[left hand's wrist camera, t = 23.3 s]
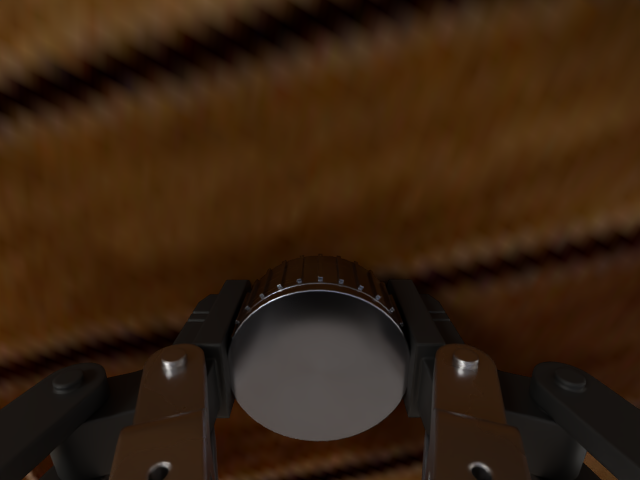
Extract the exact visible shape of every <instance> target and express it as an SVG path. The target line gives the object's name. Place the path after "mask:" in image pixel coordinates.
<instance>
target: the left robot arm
mask: <svg viewBox="0 0 640 480" xmlns="http://www.w3.org/2000/svg"><path fill="white" fill-rule="evenodd" d="M387 291H388V294H389V295H391V294H392V296H393V298H394V300H395V303H396V305H397V308H398V310H399V313H400V316H401V318H402V321H403V323H404V326H403V327H402V329H403V331H404V334H405V337H406V339H407V342H408V345H409V349H410V365H409V375H408V384H407V390H406V392H405V394H404V396H403V400H404V404H405V407H406V411H407V414H408V417H421V419H422V422H423V425H424V428H425V438H424V452H423V467H422V480H601V479H600V478H599V477H598V476H597V475H596V474H595V473H594V472H593V471H592V470H591V469H590V468H589V467H587V466H586V465H585V464H584V463H583V461H584V458H585V455H586V452H587V451H588V452H589V453H590V454H591V455H592V456H593V457H594V458H595V459H596V460H598V461H599V462H600V463H601V464H602V465H603V466H604V467H605V468H606V469H607V470H608V471H610V472H611V473H612V474H613V475H614V476H615V477H616V478H617V479H618V480H640V410H639V409H638V408H636V407H635V406H634V405H632V404H631V403H629V402H628V401H627V400H625V399H624V398H622V397H621V396H619V395H618V394H617V393H615V392H614V391H612V390H611V389H610V388H608V387H607V386H605V385H604V384H602V383H601V382H600V381H598V380H597V379H595V378H594V377H593V376H591V375H589V374H588V373H586V372H584V371H583V370H581V369H578V368H576V367H573V366H571V365H567V364H564V363H559V362H543V363H539V364H538V365H536V366H535V367H534V370H533V374H532V378H530V377H526V376H521V375H516V374H512V373H507V372H503V371H499V370H497V368H496V365H495V363H494V361H493V360H492V359H491V357H490V356H488V355H487V354H486V353H484V352H483V351H481V350H479V349H477V348H475V347H472V346H469V345H465V343H464V342H463V340H462V338H461V337H460V335H459V334H458V332H457V330H456V329H455V327H454V325H453V324H452V322H451V321H450V319H449V317H448V316H447V314H446V313H445V311H444V309H443V308H442V306H441V304H440V303H439V302H438V301H437V300H435V299H434V298H433V297H431V296H430V295H428V294H419V293H418V291H417V289H416V287H415V285H414V283H413V281H412V280H389V281H388V284H387ZM247 292H248V293H250V292H251V284H250V281H249V280H226V282H225V284H224V285H223V287H222V289H221V291H220V293H219V294H210V295H209V296H207V297H206V298H204V299H203V300H202V301H200V302H199V303H198V305H197V306H196V308H195V309H194V311H193V314H191V316H190V317H189V319H188V322H186V324H185V325H184V327H183V329H182V330H181V332H180V333H179V335H178V337H177V338H176V340H175V341H174V343H173V345H171V346H168V347H165V348H163V349H161V350H159V351H157V352H156V353H154V354H153V355H152V356H150V357H149V359H148V360H147V361H146V363H145V365H144V368H143V369H142V370H140V371H136V372H133V373H128V374H123V375H119V376H114V377H109V378H107V376H106V372H105V369H104V368H103V367H102V366H101V365H99V364H96V363H80V364H75V365H71V366H68V367H65V368H63V369H60V370H58V371H56V372H54V373H52V374H51V375H49V376H48V377H46V378H45V379H43V380H42V381H40V382H39V383H38V384H36V385H35V386H33V387H32V388H30V389H29V390H28V391H26V392H25V393H23V394H22V395H21V396H19V397H18V398H16V399H15V400H13V401H12V402H11V403H9V404H8V405H6V406H5V407H4V408H2V409H1V410H0V480H22V479H23V478H24V477H25V476H26V475H27V474H28V473H29V472H30V471H32V470H33V469H34V468H35V467H36V466H37V465H38V464H39V463H40V462H41V461H42V460H44V459H45V458H46V457H47V456H48V455H49V454H50V455H51V458H52V461H53V463H54V466H53V467H51V468H50V469H49V470H48V471H47V472H46V473H45V474H44V475H43V476H42V477H41V478H40V479H39V480H218V467H217V452H216V438H215V430H214V423H215V420H216V418H229V417H230V413H231V410H232V406H233V403H234V400H235V397H234V394H233V392H232V390H231V386H230V377H229V368H228V358H227V352H228V348H229V345H230V342H231V336H232V333H233V330H234V328H235V325H236V324H235V321H236V318H237V316H238V313H239V311H240V308H241V306H242V303H243V301H244V298H245V296H246V294H247Z"/></svg>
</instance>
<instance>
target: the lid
mask: <svg viewBox="0 0 640 480" xmlns="http://www.w3.org/2000/svg"><path fill="white" fill-rule="evenodd" d="M235 324H236V325H235V328H234V330H233V333H232V336H231V342H230V345H229V348H228V352H227V358H228V368H229V377H230V386H231V390H232V392H233V394H234V397H235V398H236V400H237V401H238V403H239V404H240V406H241V407H242V408H243V409H244V410H245V412H246V413H247V414H248V415H249V416H251V417H252V418H253V419H254V420H255V421H257V422H258V423H260V424H261V425H263V426H264V427H266V428H268V429H270V430H272V431H273V432H276V433H278V434H281V435H284V436H287V437H291V438H294V439H300V440H306V441H331V440H339V439H343V438H348V437H351V436H354V435H357V434H360V433H362V432H364V431H366V430H368V429H370V428H372V427H374V426H375V425H377V424H379V423H380V422H381V421H382V420H384V419H385V418H386V417H387V416H388V415H389V414H390V413H391V412H392V411H393V410H394V409H395V408H396V407H397V405H398V404H399V403H400V401H401V400H402V398H403V396H404V394H405V392H406V390H407V384H408V375H409V365H410V349H409V345H408V342H407V339H406V337H405V334H404V331H403V329H402V327H403V326H404V323H403V321H402V318H401V316H400V313H399V310H398V308H397V305H396V303H395V300H394V298H393V296H392V294H391V295H389V294H388V291H387V288H386V286H385V283H384V282H383V281H382V282H380V281H379V280H378V279H377V278H376V277H375V276H374V274H373V272H372V271H371V270H369V271H367V270H366V269H364V268H363V267H361V266H359V265H358V262H355V261H354V263H353V262H350V261H347V260H345V259H341V257H340V256H337V258H336V257H331V256H322V254H318V256H308V257H304V255H302V256H300V258H297V259H294V260H290V261H288V262H287V261H286V260H285V261H283V263H282V264H281V265H279V266H277V267H275V268H274V269H272V270H271V269H268V270H267V273H266V274H265V275H264V276H263V277H262V278H261V279H260V280H258V279H257V280H256V281H255V283H254V286H253V288H252V290H251V292H250V293H248V292H247V294H246V296H245V298H244V301H243V303H242V306H241V308H240V311H239V313H238V316H237V318H236V321H235Z"/></svg>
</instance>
